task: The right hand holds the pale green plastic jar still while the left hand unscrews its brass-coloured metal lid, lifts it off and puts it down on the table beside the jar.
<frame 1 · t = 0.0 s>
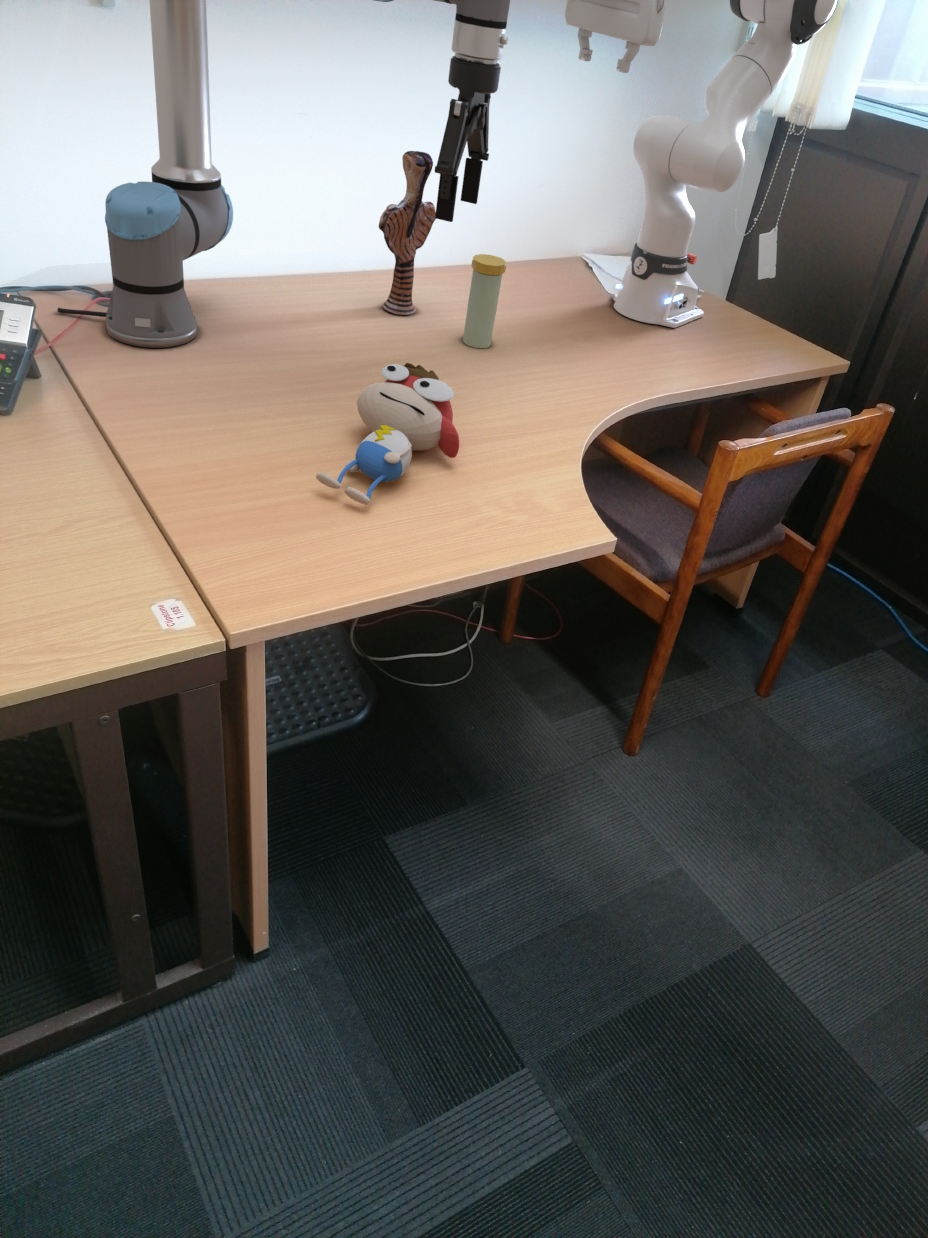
left hand: (456, 210, 144), 28 cm above the table, tool pointing down, fingers open, 13 cm apart
right hand: (602, 65, 157), 48 cm above the table, tool pointing down, fingers open, 8 cm apart
jar: (476, 342, 176), on the table
figurine: (400, 309, 184), on the table
toy: (388, 459, 134), on the table
lid: (489, 261, 166), point 16 cm above the table, screwed on, not yet turned
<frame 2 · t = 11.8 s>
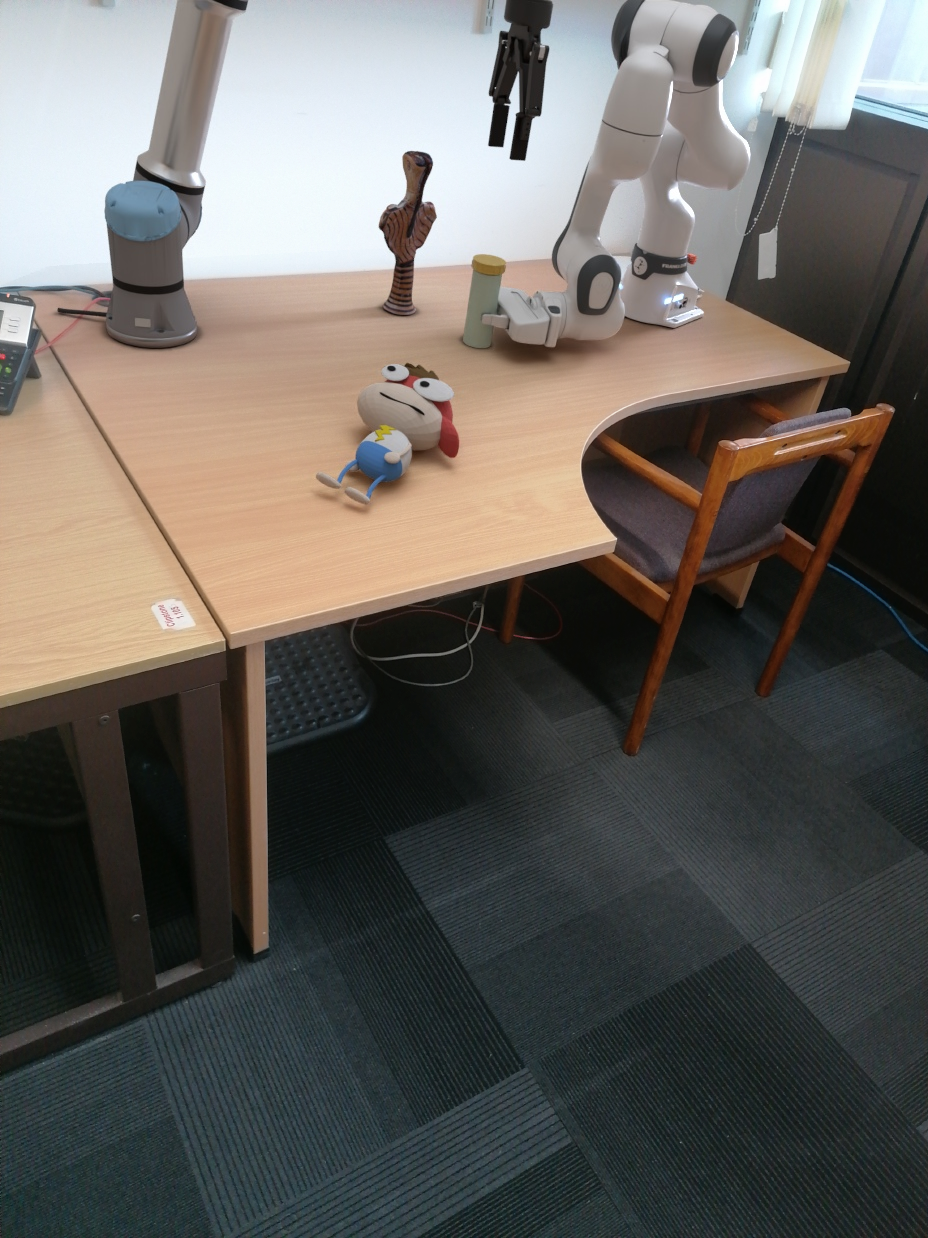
left hand: (506, 152, 154), 34 cm above the table, tool pointing down, fingers open, 8 cm apart
right hand: (477, 311, 172), 6 cm above the table, tool horizontal, fingers closed on jar, 5 cm apart
jar: (476, 342, 176), on the table, touching right hand
everything else where it was.
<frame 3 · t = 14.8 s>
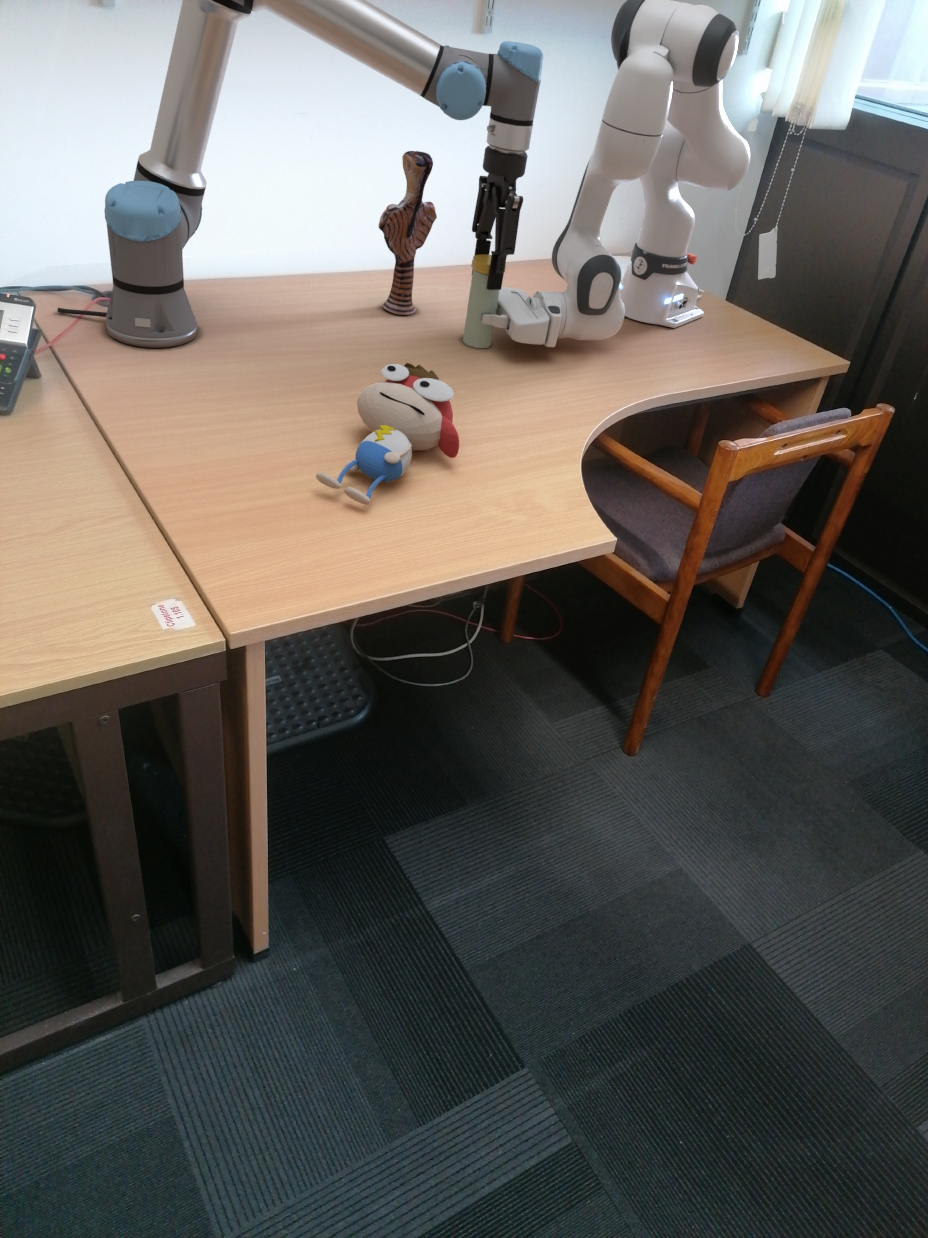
left hand: (486, 281, 168), 12 cm above the table, tool pointing down, fingers closed on lid, 6 cm apart
right hand: (477, 311, 172), 6 cm above the table, tool horizontal, fingers closed on jar, 5 cm apart
jar: (476, 342, 176), on the table, touching right hand
lid: (489, 261, 166), point 16 cm above the table, screwed on, not yet turned, touching left hand
everything else where it was.
when the left hand's fingers open (12 cm above the table, at t = 16.3 s): lid stays where it is, point 16 cm above the table.
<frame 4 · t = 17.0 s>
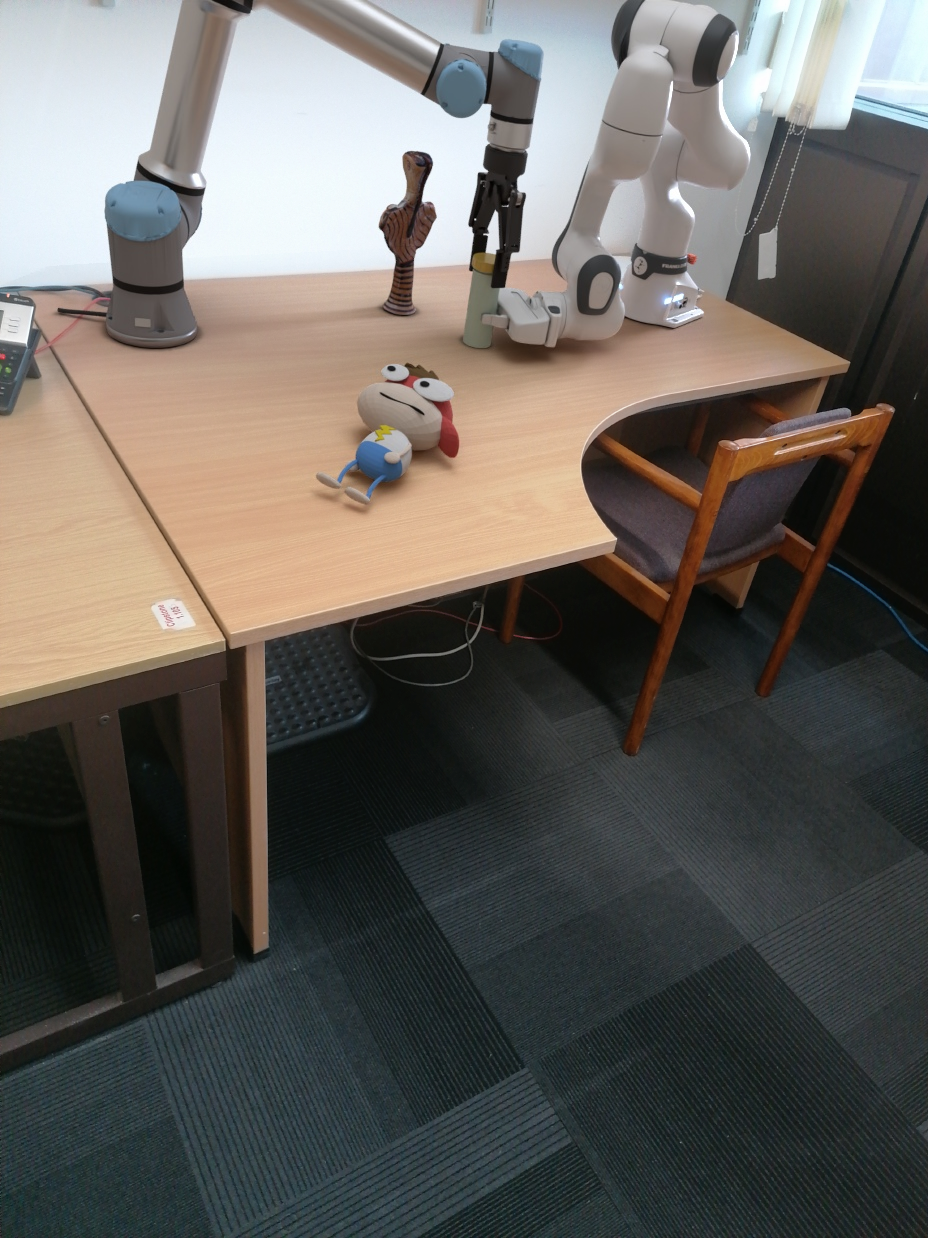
left hand: (486, 278, 168), 13 cm above the table, tool pointing down, fingers open, 8 cm apart
right hand: (477, 311, 172), 6 cm above the table, tool horizontal, fingers closed on jar, 5 cm apart
jar: (476, 342, 176), on the table, touching right hand
lid: (489, 259, 166), point 16 cm above the table, turned 98° so far, risen 0.3 cm, still on its thread
everything else where it was.
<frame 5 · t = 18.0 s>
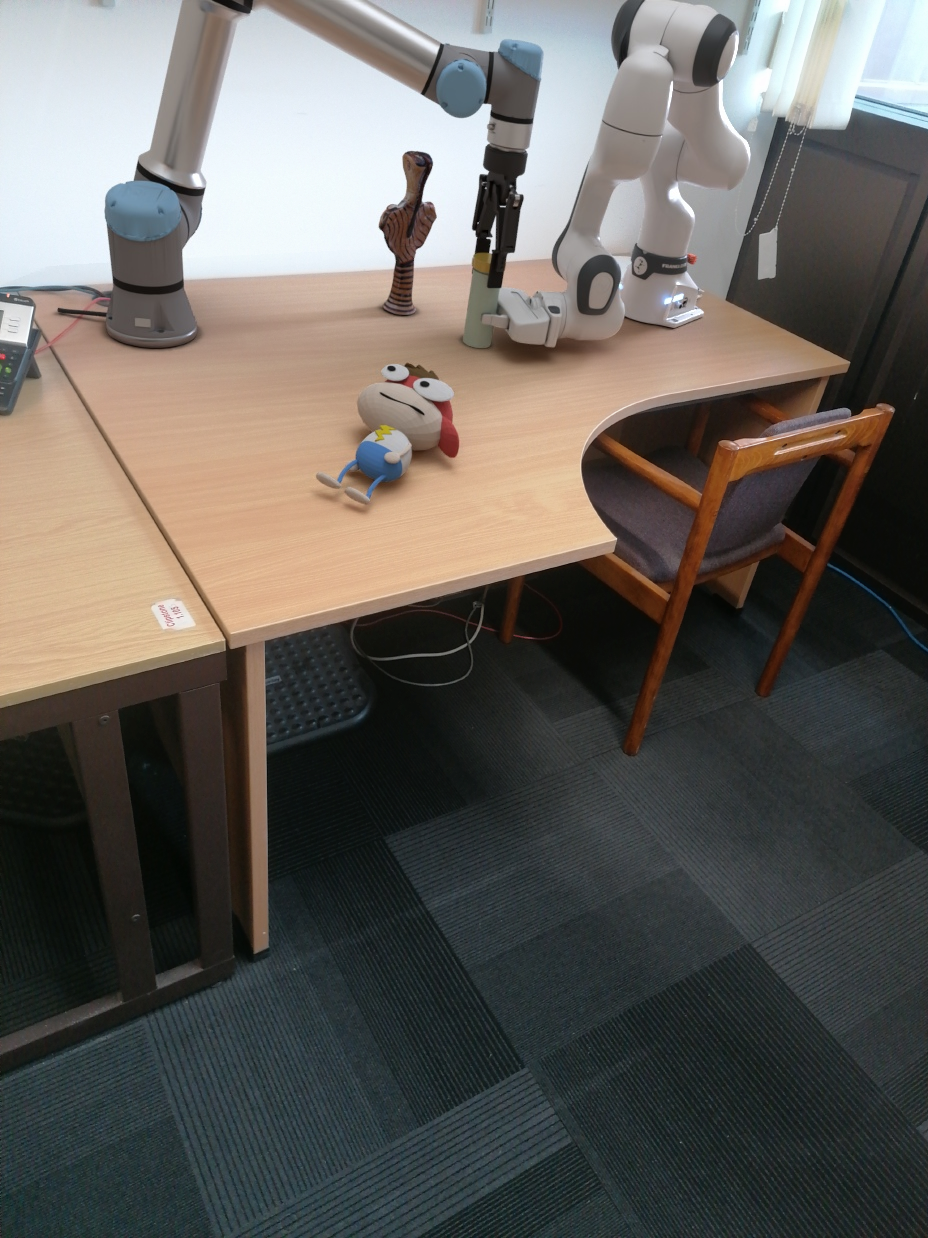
left hand: (486, 280, 168), 12 cm above the table, tool pointing down, fingers closed on lid, 6 cm apart
right hand: (477, 311, 172), 6 cm above the table, tool horizontal, fingers closed on jar, 5 cm apart
jar: (476, 342, 176), on the table, touching right hand
lid: (489, 259, 166), point 16 cm above the table, turned 98° so far, risen 0.3 cm, still on its thread, touching left hand
everything else where it was.
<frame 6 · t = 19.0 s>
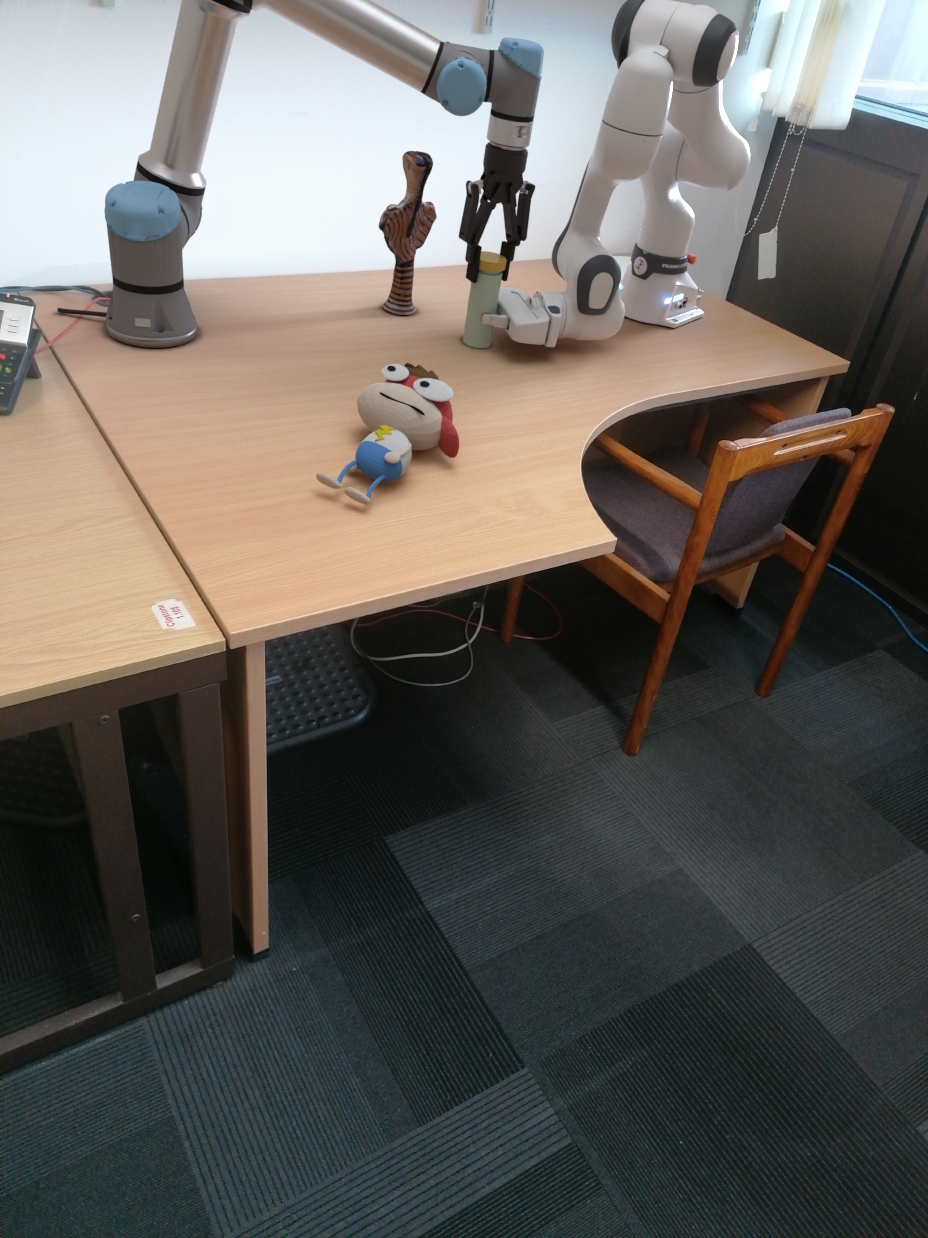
left hand: (486, 278, 168), 12 cm above the table, tool pointing down, fingers closed on lid, 6 cm apart
right hand: (477, 311, 172), 6 cm above the table, tool horizontal, fingers closed on jar, 5 cm apart
jar: (476, 342, 176), on the table, touching right hand
lid: (489, 258, 166), point 16 cm above the table, off its thread, touching left hand
everything else where it was.
when the left hand's fingers open (0 cm above the table, at t = 25.9 s): lid drops 3 cm, point 1 cm above the table.
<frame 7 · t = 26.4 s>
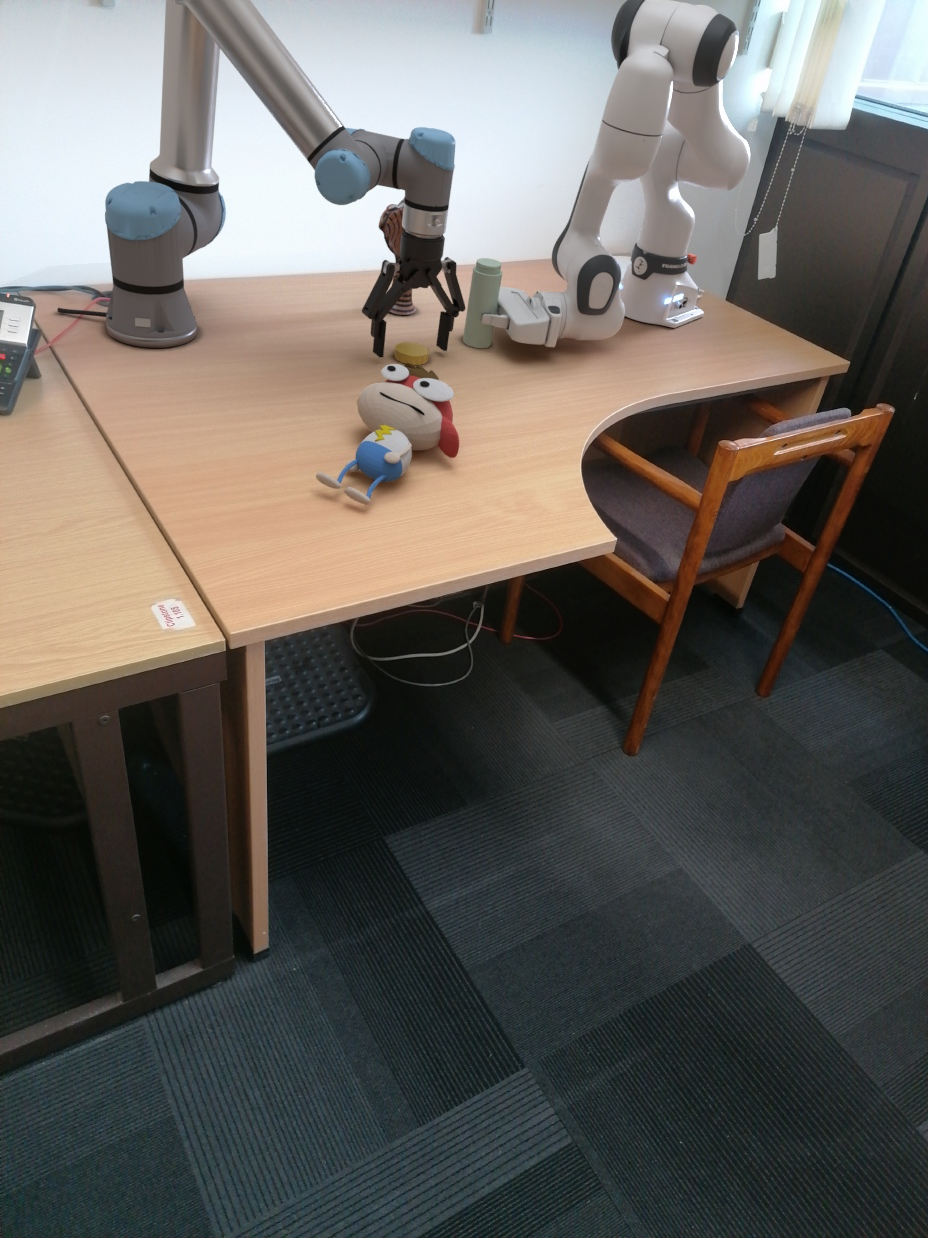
left hand: (410, 351, 165), 1 cm above the table, tool pointing down, fingers open, 13 cm apart
right hand: (477, 311, 172), 6 cm above the table, tool horizontal, fingers closed on jar, 5 cm apart
jar: (476, 342, 176), on the table, touching right hand
lid: (411, 350, 164), point 1 cm above the table, off its thread
everything else where it was.
when the right hand's fingers open (6 cm above the table, at t = 27.1 s): jar stays where it is, on the table.
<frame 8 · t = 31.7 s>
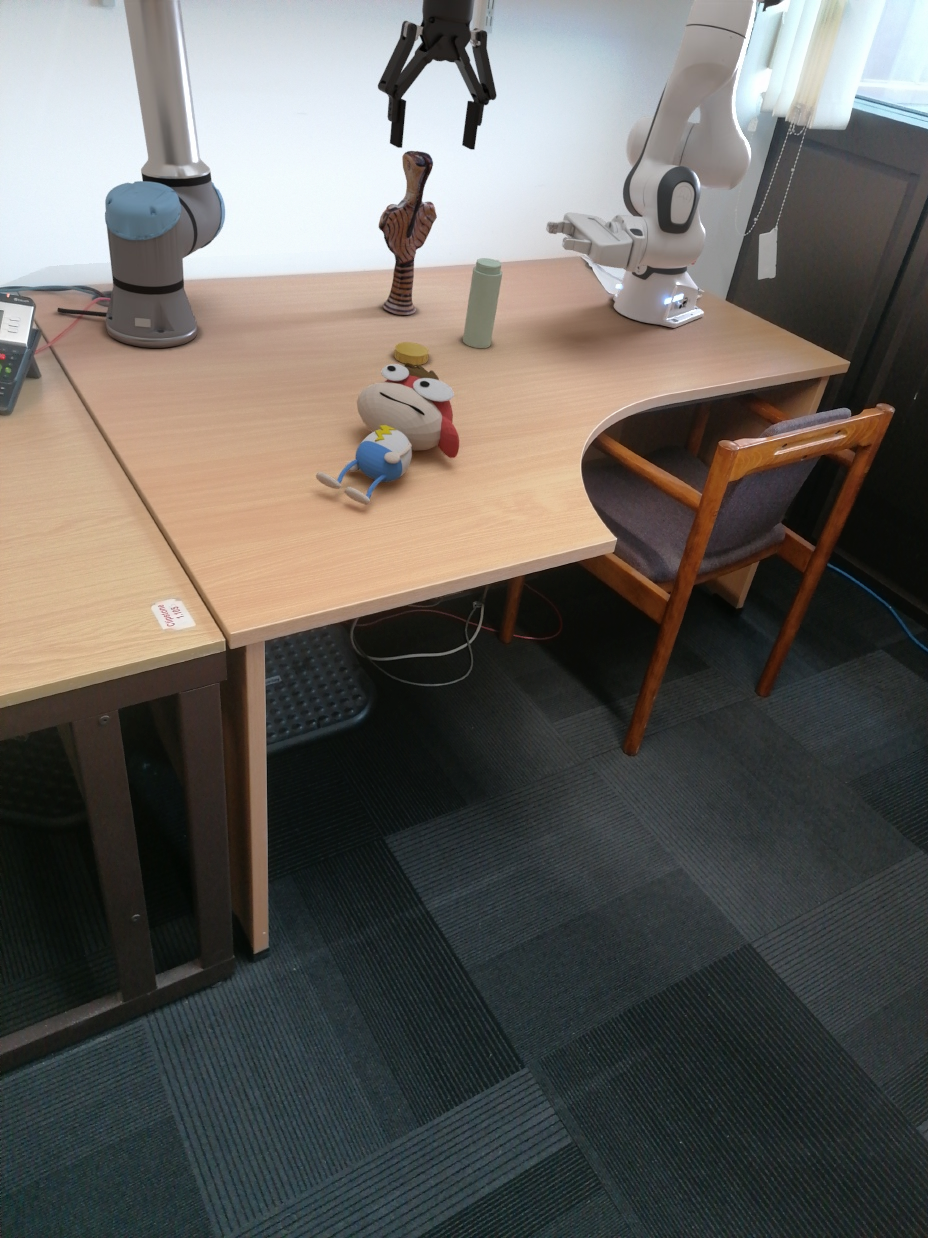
left hand: (432, 146, 143), 36 cm above the table, tool pointing down, fingers open, 13 cm apart
right hand: (555, 234, 166), 21 cm above the table, tool horizontal, fingers open, 8 cm apart
jar: (476, 342, 176), on the table
everything else where it was.
at the end: lid came off its thread; lid point 1.4 cm above the table; the left hand is holding nothing; the right hand is holding nothing; jar tilted 0°; jar moved 0.0 cm from its start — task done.
